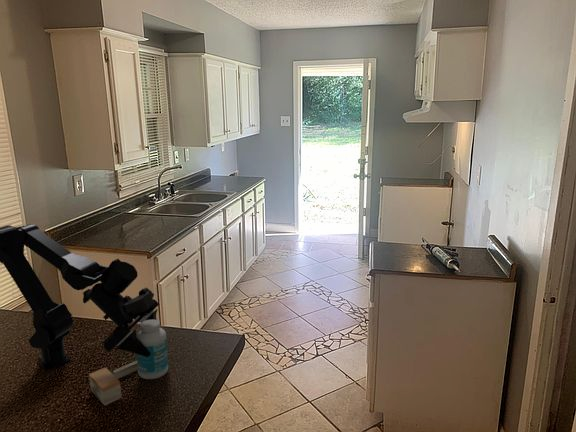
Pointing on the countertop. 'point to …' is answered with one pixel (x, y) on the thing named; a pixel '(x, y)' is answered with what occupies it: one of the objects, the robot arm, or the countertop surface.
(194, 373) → the countertop surface
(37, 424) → the countertop surface
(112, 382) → the block
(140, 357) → the pill bottle
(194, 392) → the countertop surface
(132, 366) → the rail
